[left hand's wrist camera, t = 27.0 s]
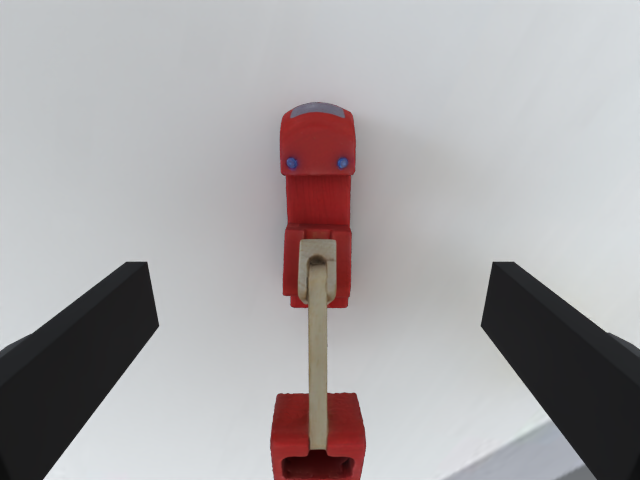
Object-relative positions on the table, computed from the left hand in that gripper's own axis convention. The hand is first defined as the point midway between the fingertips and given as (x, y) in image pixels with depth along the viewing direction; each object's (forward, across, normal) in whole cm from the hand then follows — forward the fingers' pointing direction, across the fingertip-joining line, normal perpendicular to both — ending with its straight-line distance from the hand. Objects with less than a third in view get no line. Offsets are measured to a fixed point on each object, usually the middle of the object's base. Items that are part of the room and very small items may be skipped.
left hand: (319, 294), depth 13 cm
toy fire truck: (+7, 0, 0) cm, 7 cm away
